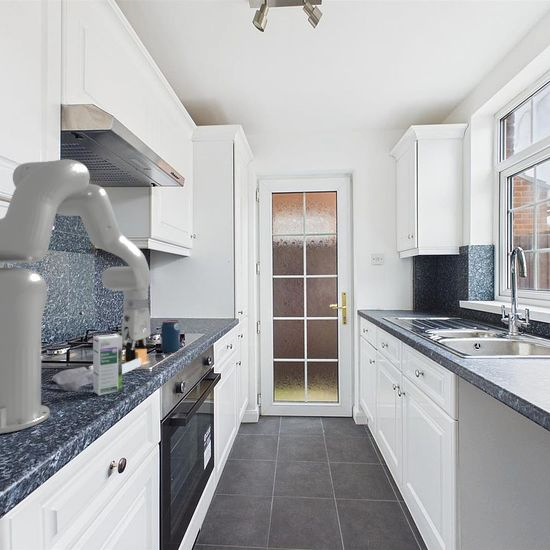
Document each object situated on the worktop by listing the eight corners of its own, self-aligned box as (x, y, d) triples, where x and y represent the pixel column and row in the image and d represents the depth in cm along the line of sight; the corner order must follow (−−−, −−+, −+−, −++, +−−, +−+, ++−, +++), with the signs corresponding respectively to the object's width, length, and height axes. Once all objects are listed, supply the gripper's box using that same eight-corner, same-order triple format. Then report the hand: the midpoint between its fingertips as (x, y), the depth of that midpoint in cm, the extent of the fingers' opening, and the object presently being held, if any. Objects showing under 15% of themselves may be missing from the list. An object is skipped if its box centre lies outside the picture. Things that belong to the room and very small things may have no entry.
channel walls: (114, 380, 101) (114, 368, 101) (88, 378, 103) (88, 366, 103) (141, 368, 114) (141, 357, 114) (117, 367, 116) (117, 356, 116)
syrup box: (98, 396, 88) (98, 338, 88) (92, 390, 93) (92, 334, 93) (122, 391, 92) (122, 335, 92) (115, 385, 97) (116, 332, 96)
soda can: (183, 351, 139) (183, 320, 139) (167, 354, 134) (167, 322, 134) (173, 348, 144) (173, 319, 144) (157, 351, 139) (157, 321, 139)
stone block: (73, 400, 91) (108, 382, 100) (69, 382, 90) (104, 366, 99) (48, 393, 97) (82, 377, 105) (44, 377, 96) (79, 362, 105)
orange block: (138, 364, 115) (138, 352, 115) (124, 363, 116) (124, 351, 116) (146, 360, 120) (146, 349, 120) (133, 360, 121) (133, 348, 121)
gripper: (130, 307, 109) (130, 366, 109) (159, 303, 126) (159, 354, 126) (109, 306, 110) (108, 365, 110) (140, 302, 127) (140, 353, 127)
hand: (135, 358), depth 118 cm, fingers closed on orange block, 4 cm apart
